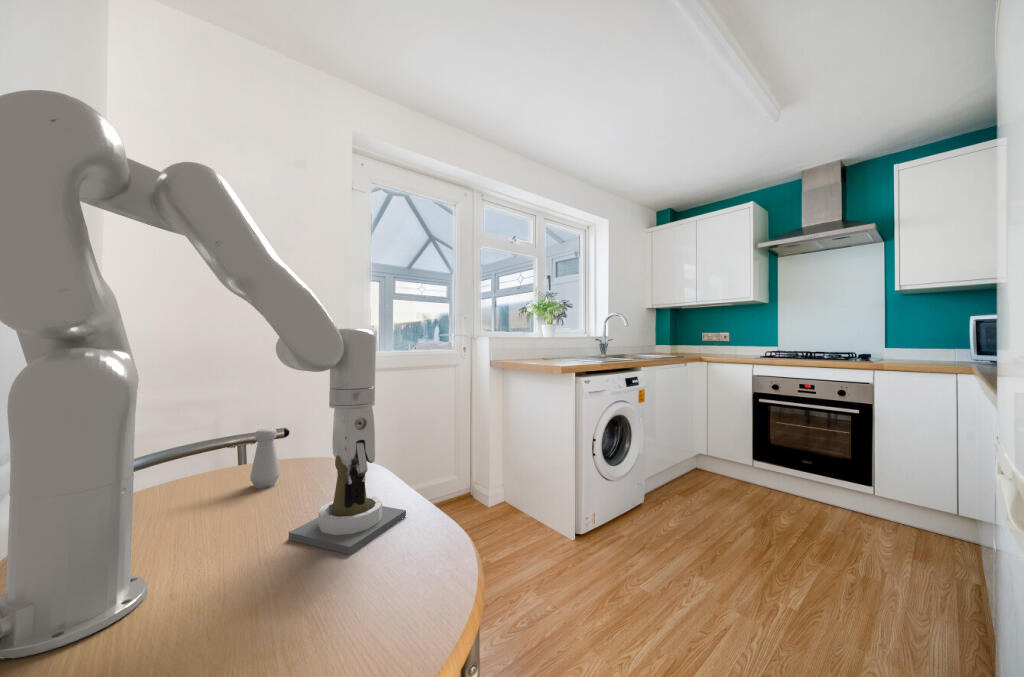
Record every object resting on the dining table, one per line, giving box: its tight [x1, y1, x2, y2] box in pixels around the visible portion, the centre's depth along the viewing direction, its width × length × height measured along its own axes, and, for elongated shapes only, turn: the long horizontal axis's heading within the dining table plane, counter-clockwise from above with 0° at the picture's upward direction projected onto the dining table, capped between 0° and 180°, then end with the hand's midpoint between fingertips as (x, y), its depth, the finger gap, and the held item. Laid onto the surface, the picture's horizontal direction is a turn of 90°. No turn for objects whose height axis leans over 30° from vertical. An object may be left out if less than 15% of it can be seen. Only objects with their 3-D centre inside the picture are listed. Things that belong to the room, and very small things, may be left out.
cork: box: [331, 455, 368, 517], centre depth 66 cm, size 6×6×11 cm
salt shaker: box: [249, 427, 281, 489], centre depth 87 cm, size 6×6×13 cm
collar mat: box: [288, 494, 407, 555], centre depth 66 cm, size 14×13×4 cm
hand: (350, 500), depth 66 cm, fingers closed on cork, 4 cm apart
